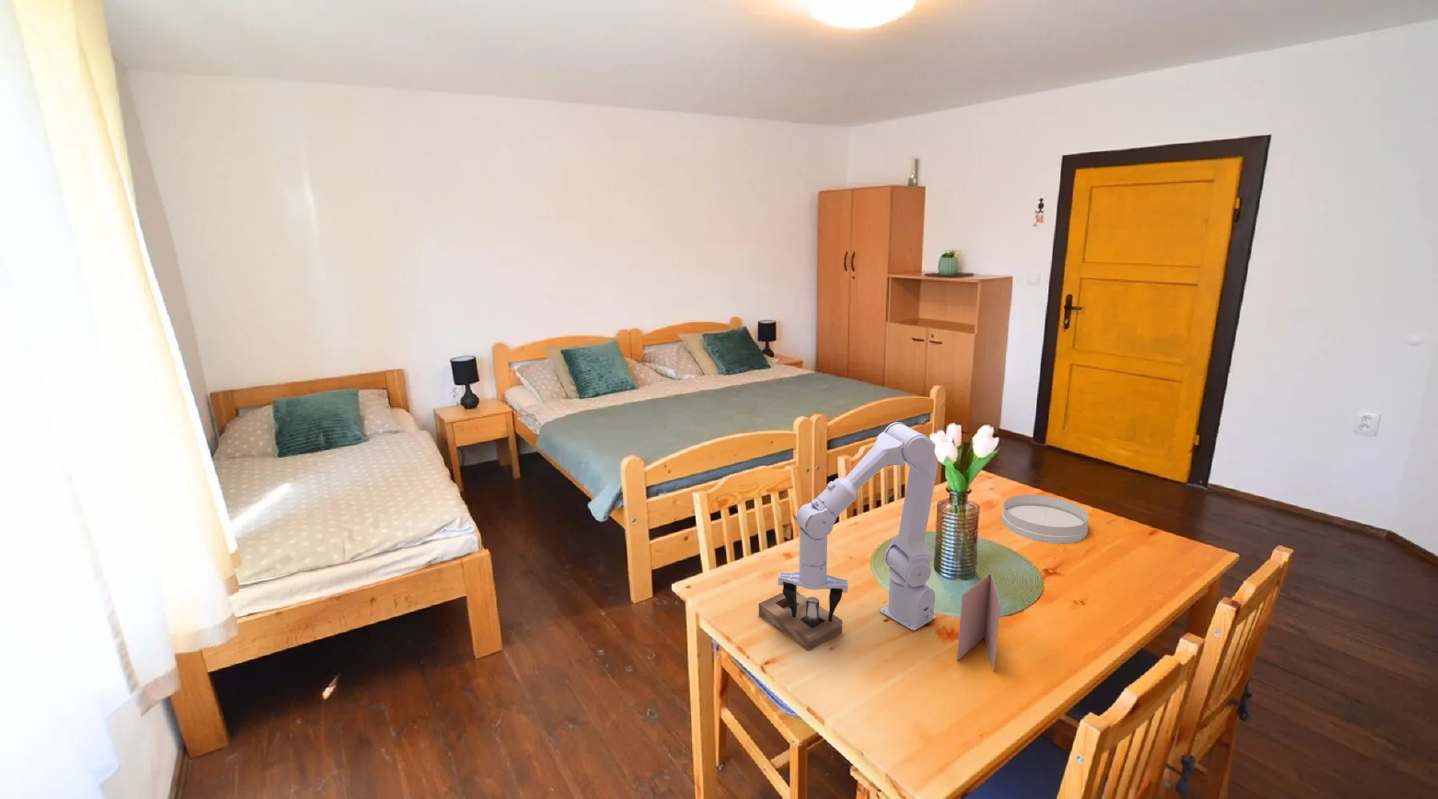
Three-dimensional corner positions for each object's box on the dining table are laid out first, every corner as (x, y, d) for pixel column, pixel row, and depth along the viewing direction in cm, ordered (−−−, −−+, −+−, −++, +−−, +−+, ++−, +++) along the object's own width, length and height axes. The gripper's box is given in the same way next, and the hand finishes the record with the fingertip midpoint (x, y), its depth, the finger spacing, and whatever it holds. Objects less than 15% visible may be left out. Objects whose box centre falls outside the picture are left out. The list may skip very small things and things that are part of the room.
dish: (1089, 519, 187) (1092, 503, 186) (1084, 551, 169) (1086, 534, 168) (1008, 504, 199) (1009, 489, 198) (994, 532, 181) (996, 516, 180)
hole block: (841, 632, 138) (842, 620, 138) (808, 650, 133) (808, 638, 132) (791, 599, 151) (791, 588, 150) (758, 615, 145) (758, 603, 144)
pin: (819, 626, 139) (820, 598, 137) (817, 634, 137) (818, 605, 135) (807, 624, 140) (807, 596, 138) (804, 631, 138) (804, 603, 136)
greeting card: (980, 634, 136) (986, 571, 132) (1015, 650, 131) (1022, 585, 127) (952, 658, 129) (958, 592, 125) (988, 677, 124) (995, 608, 120)
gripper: (849, 554, 136) (847, 610, 140) (781, 547, 140) (781, 602, 143) (847, 571, 129) (845, 629, 133) (776, 563, 133) (776, 620, 137)
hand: (812, 616), depth 138 cm, fingers open, 7 cm apart
